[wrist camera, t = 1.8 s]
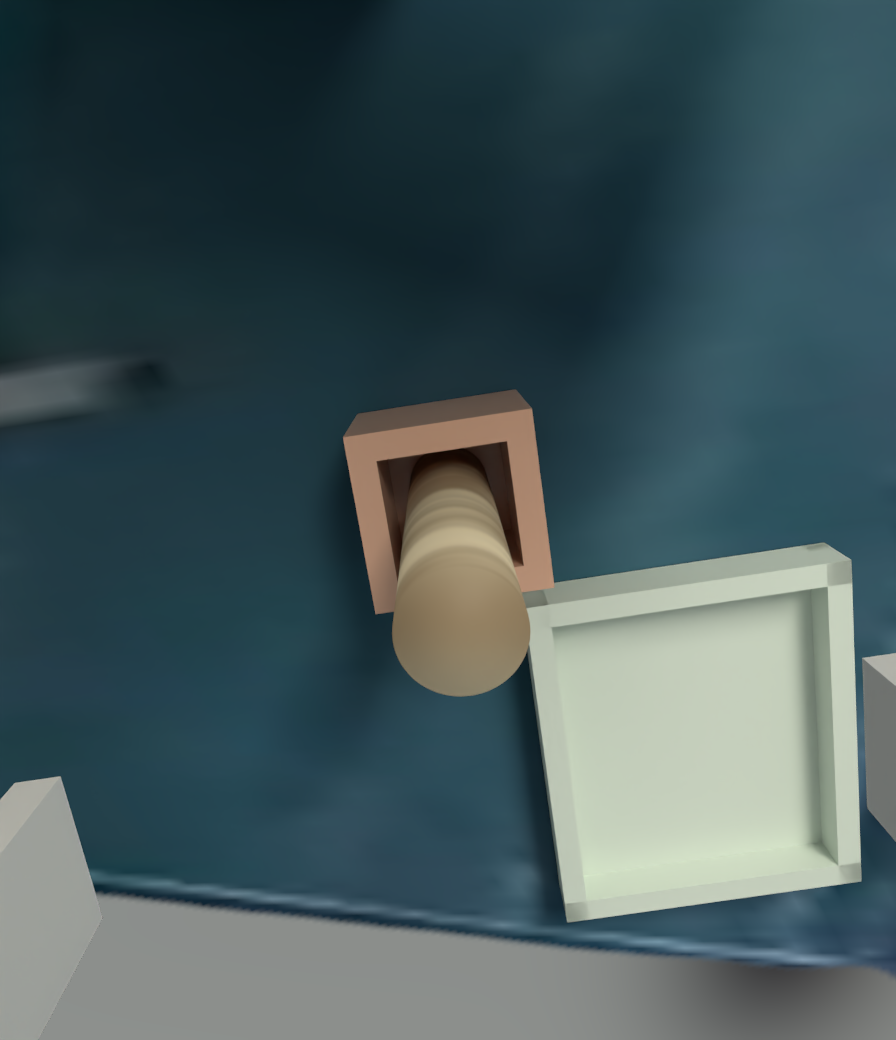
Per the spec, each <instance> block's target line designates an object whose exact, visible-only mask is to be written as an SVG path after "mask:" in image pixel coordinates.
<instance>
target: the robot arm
mask: <svg viewBox="0 0 896 1040" xmlns="http://www.w3.org/2000/svg"><path fill="white" fill-rule="evenodd" d="M862 660H863V692H864V723H865V755H866V786H867V808H868V810H869V811H870V812H871V813H872V814H873V816H874V817H875V818H876V819H877V820H878V821H879V823H880V824H881V825H882V826H883V827H884V828H885V830H886V831H887V832H888V833H889V834H890V835H891V837H892V838H893V839H894V840H895V841H896V653H894V654H887V655H881V656H874V657H867V658H862ZM102 919H103V917H102V914H101V910H100V907H99V904H98V900H97V897H96V893H95V890H94V887H93V883H92V880H91V877H90V873H89V870H88V867H87V863H86V860H85V857H84V853H83V850H82V847H81V843H80V840H79V837H78V833H77V830H76V827H75V823H74V820H73V816H72V813H71V810H70V806H69V803H68V800H67V796H66V793H65V790H64V786H63V783H62V780H61V776H59V777H52V778H45V779H39V780H32V781H25V782H18V783H14V784H13V786H12V787H11V788H10V789H9V790H8V791H7V793H6V794H5V795H4V796H3V797H2V798H1V800H0V1040H39V1038H40V1036H41V1034H42V1032H43V1030H44V1028H45V1027H46V1025H47V1023H48V1021H49V1019H50V1017H51V1015H52V1013H53V1012H54V1009H55V1008H56V1006H57V1004H58V1002H59V1000H60V998H61V996H62V994H63V992H64V991H65V989H66V987H67V985H68V983H69V981H70V979H71V977H72V976H73V974H74V972H75V969H76V968H77V966H78V964H79V962H80V960H81V959H82V957H83V955H84V953H85V951H86V949H87V947H88V945H89V943H90V941H91V940H92V938H93V936H94V934H95V932H96V930H97V928H98V926H99V924H100V922H101V921H102Z"/></svg>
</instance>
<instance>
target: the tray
mask: <svg viewBox="0 0 896 1040" xmlns="http://www.w3.org/2000/svg"><path fill="white" fill-rule="evenodd" d="M554 587H555V588H549V589H542V590H536V591H529V592H522V595H523V599H524V602H525V605H526V609H527V612H528V616H529V621H530V631H531V632H530V642H529V646H528V650H527V653H528V661H529V668H530V675H531V682H532V690H533V697H534V704H535V711H536V719H537V726H538V733H539V741H540V748H541V755H542V762H543V770H544V777H545V784H546V791H547V799H548V806H549V813H550V820H551V828H552V835H553V842H554V849H555V857H556V864H557V871H558V878H559V886H560V890H561V895H562V900H563V904H564V909H565V914H566V918H567V923H568V922H575V921H582V920H590V919H597V918H604V917H611V916H618V915H625V914H632V913H639V912H647V911H654V910H661V909H668V908H675V907H682V906H689V905H696V904H704V903H711V902H718V901H725V900H732V899H739V898H746V897H753V896H761V895H768V894H775V893H782V892H789V891H796V890H803V889H810V888H818V887H825V886H832V885H839V884H846V883H853V882H860V881H861V852H860V820H859V788H858V756H857V725H856V693H855V661H854V629H853V597H852V566H851V559H849V558H847V557H846V556H844V555H843V554H841V553H840V552H838V551H837V550H835V549H833V548H832V547H830V546H829V545H827V544H826V543H818V544H811V545H805V546H798V547H791V548H785V549H778V550H771V551H765V552H758V553H751V554H744V555H738V556H731V557H724V558H718V559H711V560H704V561H697V562H691V563H684V564H677V565H671V566H664V567H657V568H650V569H644V570H637V571H630V572H624V573H617V574H610V575H603V576H597V577H590V578H583V579H577V580H570V581H563V582H556V583H554Z"/></svg>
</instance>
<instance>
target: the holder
mask: <svg viewBox="0 0 896 1040" xmlns="http://www.w3.org/2000/svg"><path fill="white" fill-rule="evenodd" d="M343 441H344V446H345V452H346V457H347V462H348V468H349V473H350V479H351V484H352V489H353V495H354V500H355V506H356V511H357V516H358V522H359V527H360V533H361V538H362V544H363V549H364V554H365V560H366V565H367V571H368V576H369V581H370V587H371V592H372V598H373V603H374V608H375V614H381V613H388V612H394V609H395V601H396V592H397V584H398V576H399V568H400V559H401V551H402V543H403V534H404V526H405V518H406V509H407V501H408V493H409V485H410V477H411V473H412V470H413V468H414V466H415V464H416V463H417V461H418V460H419V459H420V458H421V457H422V456H423V455H424V454H427V453H433V452H440V451H446V450H453V449H459V448H464V449H466V450H468V451H470V452H471V453H473V454H474V455H475V456H476V457H477V458H478V459H479V460H480V461H481V463H482V464H483V466H484V468H485V471H486V474H487V477H488V481H489V484H490V487H491V491H492V494H493V498H494V501H495V504H496V508H497V511H498V514H499V518H500V521H501V525H502V528H503V531H504V535H505V538H506V541H507V545H508V548H509V551H510V555H511V558H512V562H513V565H514V568H515V572H516V575H517V578H518V582H519V585H520V589H521V592H529V591H536V590H542V589H549V588H555V587H554V579H553V571H552V563H551V555H550V547H549V539H548V532H547V524H546V516H545V508H544V500H543V492H542V484H541V476H540V468H539V460H538V452H537V444H536V437H535V429H534V421H533V413H532V408H531V407H530V406H529V404H528V403H527V402H526V401H525V400H524V398H523V397H522V396H521V395H520V394H519V393H518V391H517V390H516V389H514V390H508V391H501V392H495V393H488V394H482V395H475V396H469V397H462V398H456V399H449V400H443V401H436V402H430V403H423V404H417V405H410V406H404V407H397V408H391V409H384V410H378V411H372V412H365V413H359V414H357V415H356V417H355V419H354V420H353V422H352V423H351V425H350V427H349V428H348V430H347V432H346V433H345V435H344V436H343Z"/></svg>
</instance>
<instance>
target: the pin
mask: <svg viewBox="0 0 896 1040" xmlns="http://www.w3.org/2000/svg"><path fill="white" fill-rule="evenodd" d="M530 632H531V631H530V621H529V616H528V612H527V609H526V605H525V602H524V599H523V595H522V592H521V589H520V585H519V582H518V578H517V575H516V572H515V568H514V565H513V562H512V558H511V555H510V551H509V548H508V545H507V541H506V538H505V535H504V531H503V528H502V525H501V521H500V518H499V514H498V511H497V508H496V504H495V501H494V498H493V494H492V491H491V487H490V484H489V481H488V477H487V474H486V471H485V468H484V466H483V464H482V463H481V461H480V460H479V459H478V458H477V457H476V456H475V455H474V454H473V453H471V452H470V451H468V450H466V449H464V448H459V449H453V450H446V451H440V452H433V453H427V454H424V455H423V456H422V457H421V458H420V459H419V460H418V461H417V463H416V464H415V466H414V468H413V470H412V473H411V477H410V485H409V493H408V501H407V509H406V518H405V526H404V534H403V543H402V551H401V559H400V568H399V576H398V584H397V592H396V601H395V609H394V617H393V626H392V638H393V645H394V649H395V652H396V655H397V657H398V660H399V661H400V663H401V665H402V666H403V668H404V669H405V670H406V672H407V673H408V674H409V675H410V676H411V677H412V678H413V679H414V680H415V681H417V682H418V683H419V684H421V685H422V686H424V687H426V688H428V689H430V690H432V691H434V692H437V693H441V694H444V695H450V696H472V695H477V694H481V693H484V692H487V691H489V690H491V689H494V688H496V687H497V686H499V685H500V684H502V683H504V682H505V681H506V680H507V679H508V678H510V677H511V676H512V675H513V673H514V672H515V671H516V670H517V669H518V667H519V666H520V665H521V663H522V661H523V659H524V657H525V655H526V652H527V650H528V646H529V642H530Z"/></svg>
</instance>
